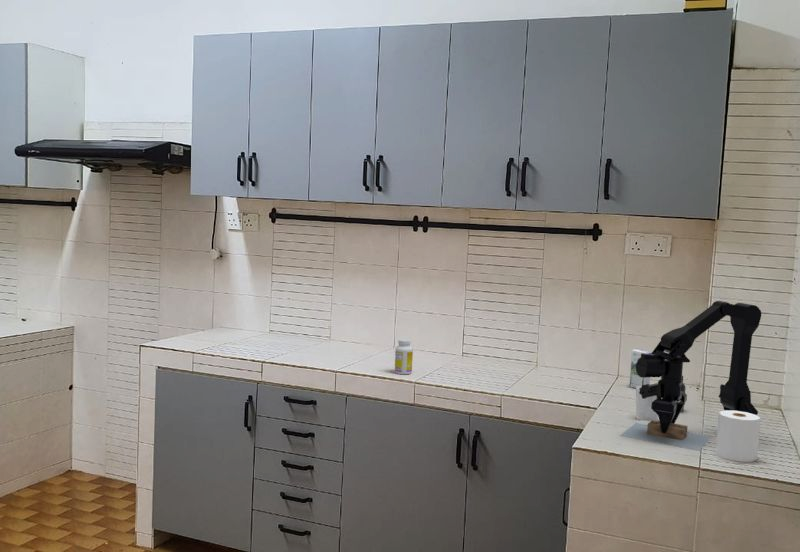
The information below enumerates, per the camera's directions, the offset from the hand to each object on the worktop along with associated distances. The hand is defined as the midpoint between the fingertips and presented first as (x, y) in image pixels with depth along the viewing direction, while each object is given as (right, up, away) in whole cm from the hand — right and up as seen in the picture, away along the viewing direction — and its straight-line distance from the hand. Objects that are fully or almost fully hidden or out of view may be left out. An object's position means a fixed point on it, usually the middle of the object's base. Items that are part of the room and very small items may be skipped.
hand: (667, 429), depth 231 cm
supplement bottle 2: (+14, 0, +35) cm, 37 cm away
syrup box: (+12, +2, +67) cm, 68 cm away
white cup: (0, -1, +20) cm, 20 cm away
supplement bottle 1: (-77, +7, +74) cm, 107 cm away
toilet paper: (+13, -5, -17) cm, 22 cm away
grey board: (-1, -2, -1) cm, 3 cm away
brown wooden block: (0, -2, 0) cm, 2 cm away
